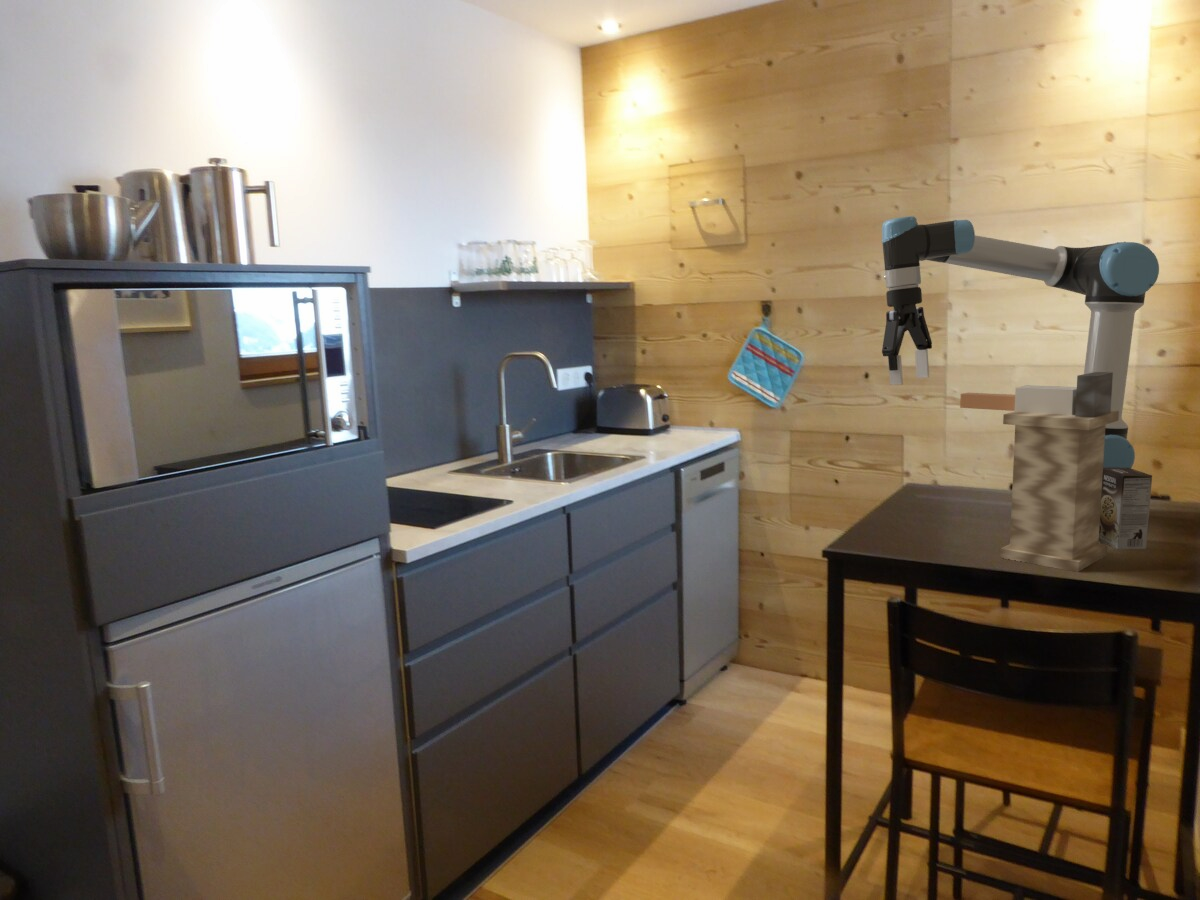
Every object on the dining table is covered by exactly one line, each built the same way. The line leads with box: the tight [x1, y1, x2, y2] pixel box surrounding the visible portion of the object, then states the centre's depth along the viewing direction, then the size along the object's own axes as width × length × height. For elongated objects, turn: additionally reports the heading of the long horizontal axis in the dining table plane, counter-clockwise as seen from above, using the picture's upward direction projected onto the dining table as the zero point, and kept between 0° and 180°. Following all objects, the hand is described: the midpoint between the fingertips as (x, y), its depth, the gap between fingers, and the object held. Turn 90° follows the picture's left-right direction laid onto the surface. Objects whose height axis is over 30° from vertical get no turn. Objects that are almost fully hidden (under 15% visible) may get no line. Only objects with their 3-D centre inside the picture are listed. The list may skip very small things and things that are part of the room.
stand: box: [999, 372, 1119, 573], centre depth 178 cm, size 16×17×38 cm
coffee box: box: [1099, 467, 1153, 551], centre depth 187 cm, size 9×6×16 cm
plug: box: [959, 384, 1077, 415], centre depth 182 cm, size 24×6×5 cm, turn 43°
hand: (910, 381), depth 200 cm, fingers open, 13 cm apart
